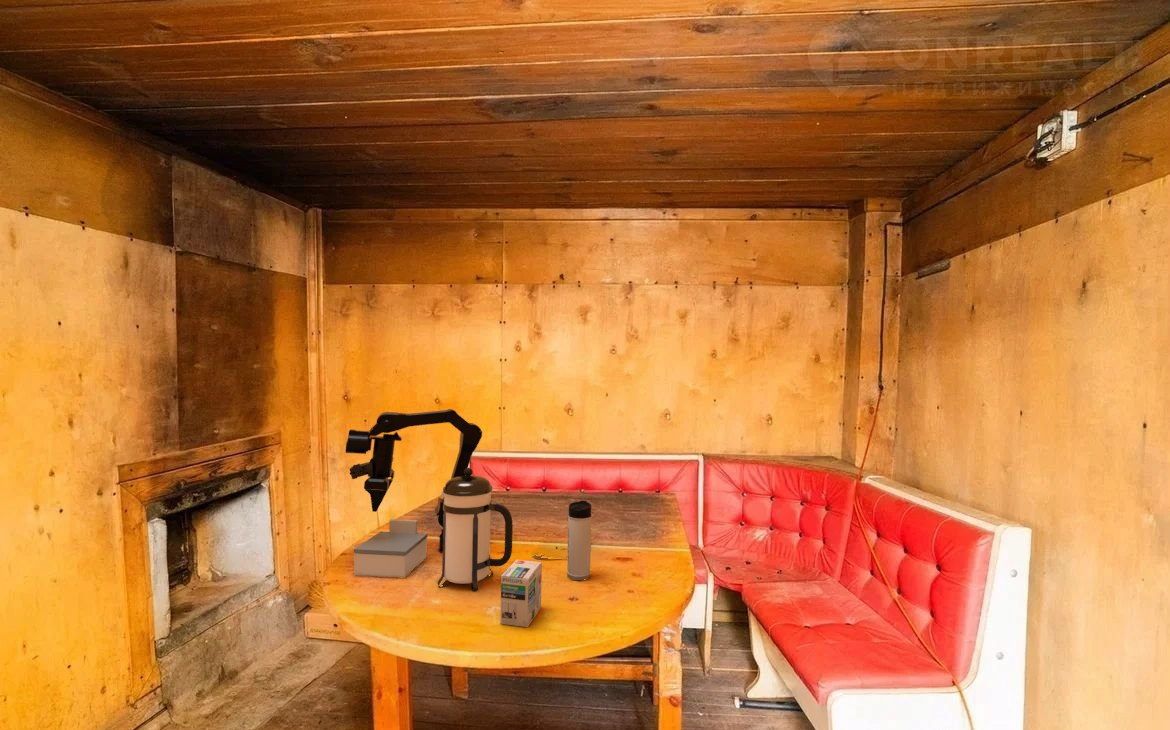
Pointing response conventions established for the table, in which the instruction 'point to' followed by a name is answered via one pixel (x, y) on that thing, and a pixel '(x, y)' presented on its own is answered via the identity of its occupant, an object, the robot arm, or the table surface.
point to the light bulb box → (521, 593)
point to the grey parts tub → (389, 563)
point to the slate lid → (394, 539)
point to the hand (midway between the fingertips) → (376, 507)
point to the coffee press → (470, 530)
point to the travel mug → (579, 540)
